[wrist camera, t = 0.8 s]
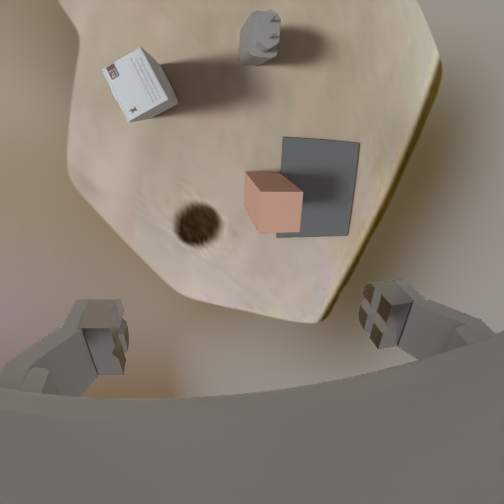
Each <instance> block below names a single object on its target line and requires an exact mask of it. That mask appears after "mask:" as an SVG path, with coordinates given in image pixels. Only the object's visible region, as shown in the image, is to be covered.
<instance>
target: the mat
mask: <svg viewBox="0 0 504 504" xmlns="http://www.w3.org/2000/svg"><path fill="white" fill-rule="evenodd" d="M358 151H359V143H354V142H345V141H334V140H323V139H309V138H293V137H283V144H282V161H281V174H282V175H283V176H284V177H286V178H287V179H288V180H289V181H291V182H292V183H293V184H294V185H295V186H297V187H298V188H299V189H300V190H302V191H303V200H302V211H301V221H300V231H299V232H285V233H277V235H276V237H277V238H286V237H320V236H347V234H348V228H349V221H350V215H351V208H352V200H353V193H354V185H355V177H356V169H357V160H358Z"/></svg>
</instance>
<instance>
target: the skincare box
mask: <svg viewBox="0 0 504 504" xmlns="http://www.w3.org/2000/svg"><path fill="white" fill-rule="evenodd" d="M102 71H103V73H104V75H105V77H106V79H107V81H108V83H109V85H110V87H111V90H112V93H113V95H114V97H115V99H116V100H117V102H118V103H119V105H120V107H121V109H122V111H123V113H124V115H125V116H126V118H127V120H128V122H134V121H140V120H145V119H151V118H153V117H154V116H156V115H158V114H160V113H162V112H164V111H166V110H168V109H169V108H171V107H173V106H175V105H177V104H178V100H177V98H176V95H175V93H174V91H173V89H172V86H171V84H170V83H169V81H168V79H167V77H166V75H165V73H164V71H163V70H162V68H161V66H160V65H159V64H158V63H157V62H156V61H155V60H154V59H153V58H152V57H151V56H150V55H149V54H148V53H147V52H146V51H145V50H144V49H143V48H142V47H140V48H138V49H136V50H134V51H132V52H131V53H129V54H127V55H126V56H124V57H122V58H120V59H119V60H117V61H115V62H114V63H112V64H110V65H109V66H107V67H105V68H104V69H103V70H102Z"/></svg>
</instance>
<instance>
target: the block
mask: <svg viewBox="0 0 504 504" xmlns="http://www.w3.org/2000/svg"><path fill="white" fill-rule="evenodd" d="M302 200H303V191H302V190H300V189H299V188H298V187H297V186H295V185H294V184H293V183H292V182H291V181H289V180H288V179H287V178H286V177H284V176H283V175H282V174H281V173H279V172H245V189H244V206H245V208H246V210H247V212H248V214H249V216H250V217H251V219H252V221H253V223H254V225H255V227H256V229H257V231H258V233H285V232H299V231H300V221H301V211H302Z"/></svg>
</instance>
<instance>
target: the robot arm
mask: <svg viewBox="0 0 504 504" xmlns="http://www.w3.org/2000/svg"><path fill="white" fill-rule="evenodd" d="M363 296H364V298H365V300H364V301H363V302H362V303H361V304H360V307H359V313H358V314H359V321H360V324H361V326H362V328H363V329H364V330H365V331H367V332H369V333H370V339H371V340H372V342H373V343H374V344H375V346H376V347H377V349H382V348H388V347H393V346H398V347H399V348H401V349H402V350H404V351H405V352H407V353H409V354H410V355H412V356H413V357H415V358H417V359H418V360H417V361H414V362H410V363H406V364H403V365H399V366H395V367H391V368H387V369H383V370H379V371H375V372H371V373H366V374H362V375H357V376H353V377H348V378H343V379H338V380H333V381H327V382H322V383H317V384H311V385H305V386H299V387H292V388H285V389H278V390H270V391H262V392H255V393H244V394H235V395H222V396H209V397H193V398H167V399H166V398H164V399H122V398H121V399H120V398H118V399H117V398H94V397H80V396H81V395H82V394H83V393H84V392H85V390H86V389H87V388H88V387H89V386H90V385H91V384H92V383H93V382H94V380H95V379H96V378H97V377H98V375H123V374H124V369H125V363H126V358H125V355H124V353H125V352H126V351H128V346H129V332H128V326H127V322H126V321H125V320H124V319H123V313H124V307H123V303H122V301H121V299H77V300H75V302H74V304H73V306H72V308H71V310H70V312H69V314H68V316H67V318H66V320H65V322H64V325H63V327H62V328H58V329H56V330H54V331H53V332H51V333H50V334H48V335H47V336H45V337H44V338H42V339H41V340H39V341H38V342H36V343H35V344H33V345H32V346H30V347H29V348H27V349H26V350H24V351H23V352H22V353H20V354H19V355H17V356H16V357H14V358H13V359H11V360H10V361H8V362H7V363H6V364H5V366H4V368H3V370H2V372H1V374H0V504H504V331H502V332H500V333H497V334H495V333H494V332H493V331H492V330H491V329H490V328H489V327H488V326H487V325H486V324H485V323H484V322H483V321H482V320H480V319H478V318H475V317H473V316H470V315H468V314H465V313H462V312H460V311H458V310H455V309H452V308H450V307H447V306H445V305H442V304H439V303H437V302H434V301H432V300H426V299H425V298H424V297H423V296H422V295H421V294H420V293H419V292H417V291H416V290H415V289H414V288H413V287H412V286H411V285H410V284H409V283H408V282H407V281H405V280H404V279H396V280H390V281H383V282H375V283H367V284H366V285H365V287H364V290H363Z"/></svg>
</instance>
